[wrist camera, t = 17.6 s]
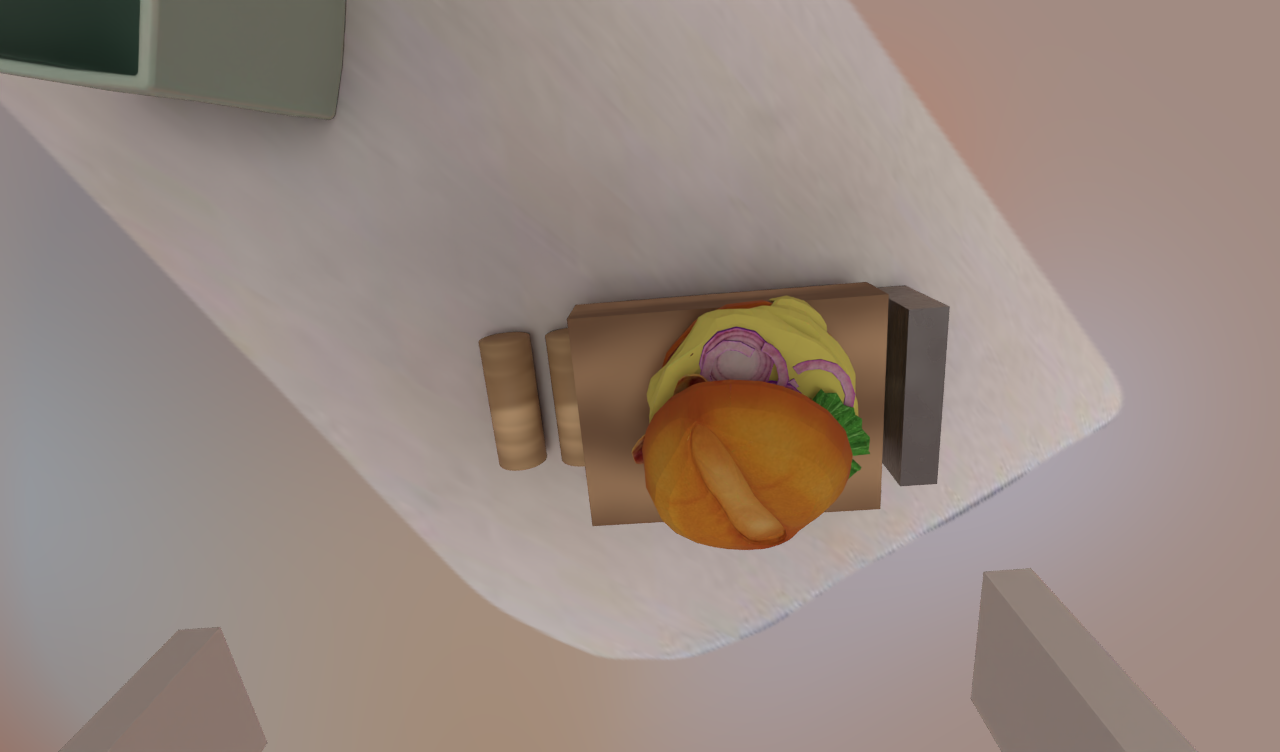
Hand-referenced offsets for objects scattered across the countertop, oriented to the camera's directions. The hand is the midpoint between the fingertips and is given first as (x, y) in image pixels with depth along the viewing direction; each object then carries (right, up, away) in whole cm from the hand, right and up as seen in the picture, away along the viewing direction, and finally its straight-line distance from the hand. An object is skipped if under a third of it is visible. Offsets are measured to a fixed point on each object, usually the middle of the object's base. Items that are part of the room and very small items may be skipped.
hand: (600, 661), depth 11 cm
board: (+6, +4, +25) cm, 26 cm away
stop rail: (+16, +6, +28) cm, 32 cm away
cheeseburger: (+6, +4, +22) cm, 23 cm away
